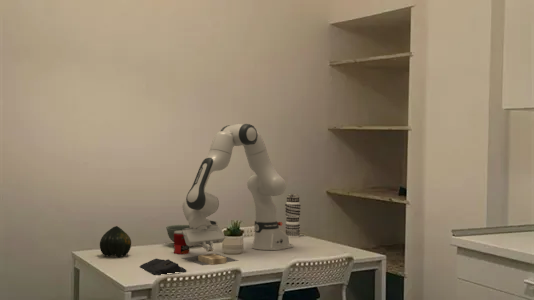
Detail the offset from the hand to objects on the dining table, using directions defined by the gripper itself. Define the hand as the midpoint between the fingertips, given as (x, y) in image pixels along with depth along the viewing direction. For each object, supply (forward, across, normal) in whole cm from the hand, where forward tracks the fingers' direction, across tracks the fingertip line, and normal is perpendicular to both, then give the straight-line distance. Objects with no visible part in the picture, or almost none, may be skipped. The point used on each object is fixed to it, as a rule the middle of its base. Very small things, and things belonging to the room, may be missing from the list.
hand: (210, 250), depth 299 cm
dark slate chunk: (+6, -26, +2) cm, 27 cm away
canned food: (-14, -1, +22) cm, 26 cm away
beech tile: (0, 0, +6) cm, 6 cm away
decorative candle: (-23, +81, +31) cm, 89 cm away
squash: (-23, -31, +31) cm, 49 cm away
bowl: (-28, +12, +36) cm, 47 cm away
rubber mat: (+1, +2, +6) cm, 7 cm away
